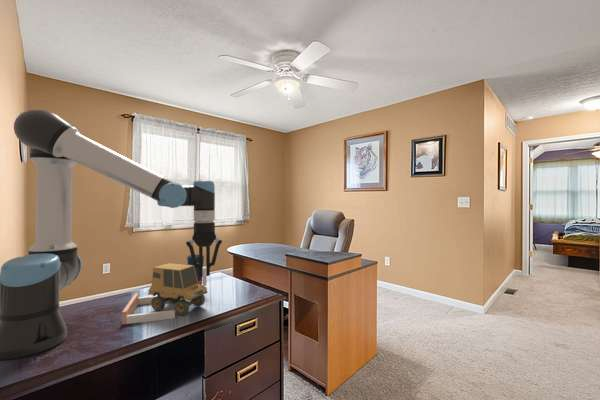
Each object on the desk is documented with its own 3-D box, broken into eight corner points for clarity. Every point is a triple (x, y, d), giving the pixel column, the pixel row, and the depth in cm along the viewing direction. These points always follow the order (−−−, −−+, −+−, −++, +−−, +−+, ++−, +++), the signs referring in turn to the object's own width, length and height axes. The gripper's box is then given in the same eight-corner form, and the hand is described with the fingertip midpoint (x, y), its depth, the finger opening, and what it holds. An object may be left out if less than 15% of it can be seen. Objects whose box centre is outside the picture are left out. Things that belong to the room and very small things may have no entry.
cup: (201, 287, 127) (202, 253, 127) (205, 291, 121) (205, 256, 121) (185, 289, 123) (186, 255, 123) (188, 293, 118) (188, 258, 118)
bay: (121, 324, 88) (122, 311, 88) (134, 304, 105) (135, 293, 105) (174, 318, 93) (174, 306, 93) (178, 299, 111) (178, 289, 111)
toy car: (188, 317, 93) (187, 272, 93) (146, 310, 100) (145, 268, 100) (209, 306, 103) (208, 265, 103) (169, 300, 110) (168, 262, 110)
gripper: (185, 223, 99) (185, 289, 99) (222, 222, 104) (223, 285, 104) (186, 221, 106) (186, 283, 106) (221, 220, 111) (221, 280, 111)
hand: (204, 284), depth 105 cm, fingers closed
